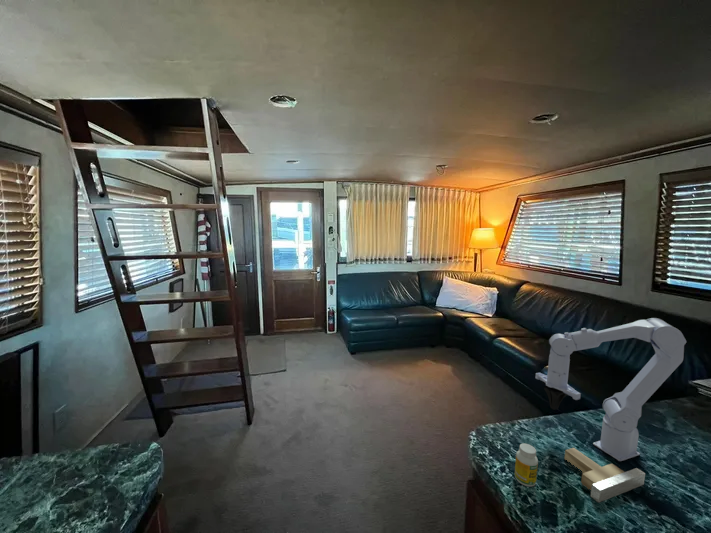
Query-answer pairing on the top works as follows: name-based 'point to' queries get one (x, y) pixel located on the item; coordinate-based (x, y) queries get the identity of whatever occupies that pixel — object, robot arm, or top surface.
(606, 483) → the rail
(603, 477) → the maple t block
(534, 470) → the supplement bottle
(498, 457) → the top surface
